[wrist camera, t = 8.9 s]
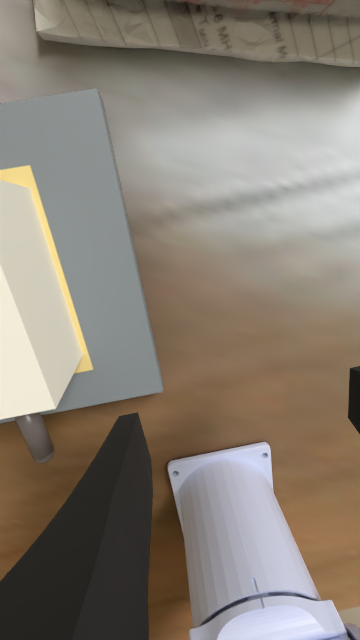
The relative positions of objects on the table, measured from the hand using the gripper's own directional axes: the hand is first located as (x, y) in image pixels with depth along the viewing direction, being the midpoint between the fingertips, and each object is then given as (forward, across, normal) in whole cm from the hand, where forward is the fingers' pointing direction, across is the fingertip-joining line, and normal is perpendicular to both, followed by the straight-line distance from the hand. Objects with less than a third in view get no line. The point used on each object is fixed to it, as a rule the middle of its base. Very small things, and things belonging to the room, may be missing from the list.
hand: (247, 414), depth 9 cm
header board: (+9, +9, -4) cm, 14 cm away
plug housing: (+8, +9, -3) cm, 12 cm away
